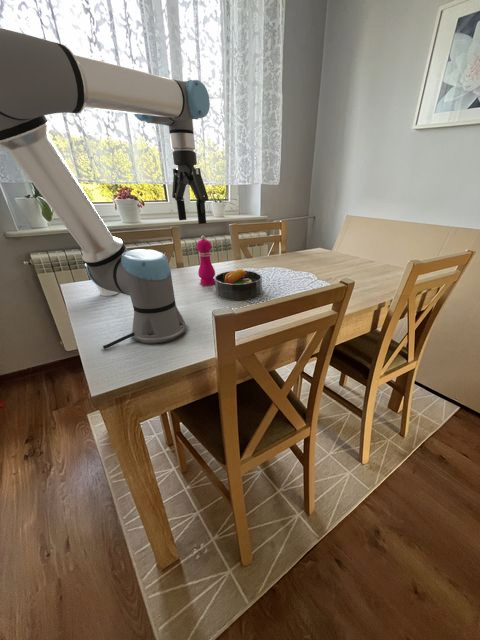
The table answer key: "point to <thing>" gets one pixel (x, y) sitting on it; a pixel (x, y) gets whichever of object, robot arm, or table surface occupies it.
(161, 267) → the robot arm
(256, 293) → the bowl
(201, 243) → the pepper mill
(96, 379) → the table surface
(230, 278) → the cheeseburger
